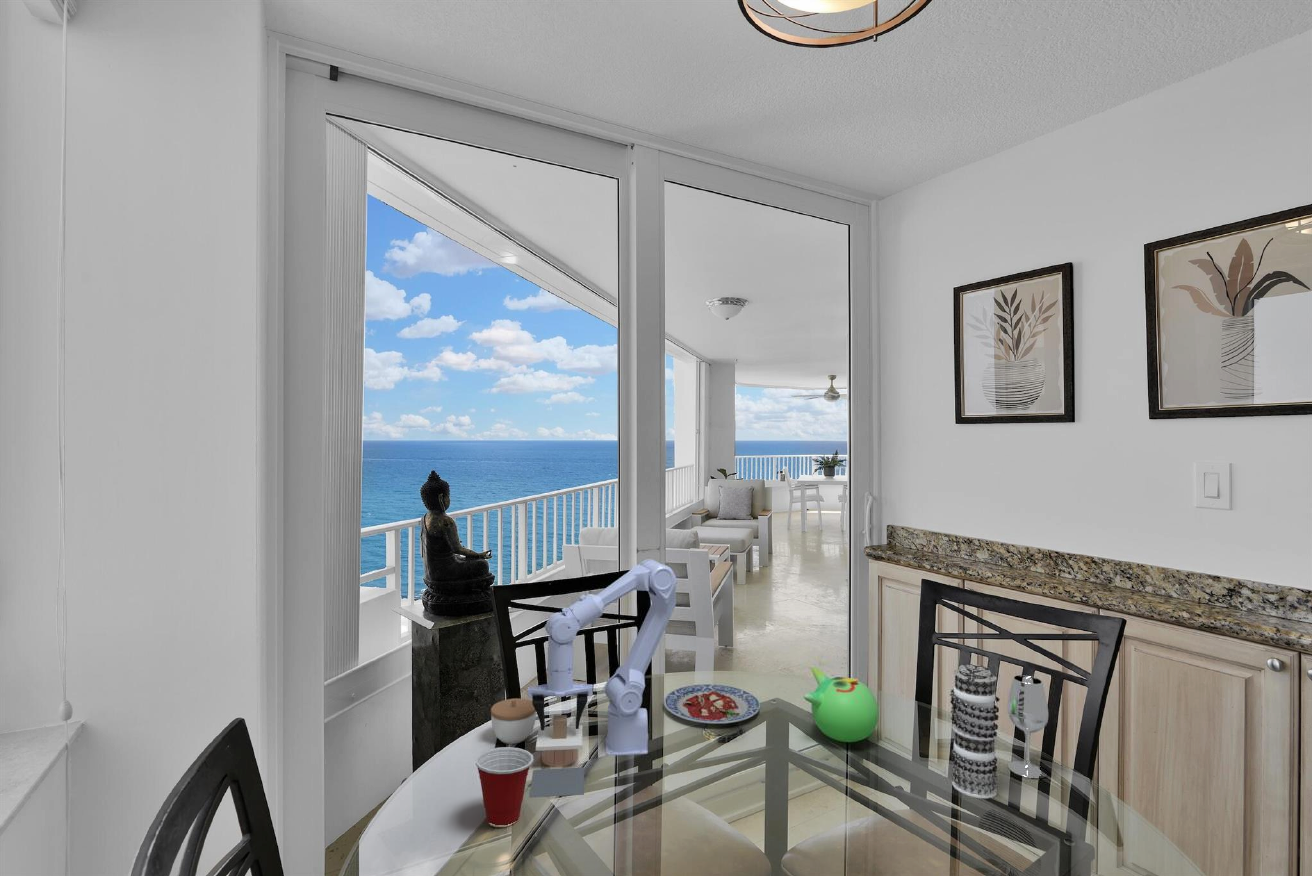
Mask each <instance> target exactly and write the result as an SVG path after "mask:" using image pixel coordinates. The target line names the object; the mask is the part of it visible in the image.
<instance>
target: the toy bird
mask: <svg viewBox="0 0 1312 876" xmlns="http://www.w3.org/2000/svg"><path fill="white" fill-rule="evenodd" d="M811 672H812V674H813V677H814V679H815V680H816V682H817V687H816V688H815V690H814V692H807V693H805V694H804V695H803V698H804V700H806V702H808V703H810V704H811V705H810V706H811V712H812V713H811V714H812V717H813V721H814V722H815V724H816V726H817V727H818V728H819V730H820V732H822V733H823V734H824V735H826V736H827V737H828V738H830V739H833V740H835V741H839V742H841V743H857V742H859V741H861V740H864V739H867V737H869V736H870V735H872V734H873V732H874V731H875V729H876V727H877V726H878V722H879V715H880V714H879V712H880V711H879V706H878V702H877V699H876V697H875V695H874V694H873V692H872V691H871V689H870V688H869V687H868V686H867V685H866V684H865V683H863V682H861V681H859V679H858V678H851V677H847V676H845V677H844V676H836V677H828V676H827V675H826V674H825V673H824V672H823V671H821V670H819V669H818V668H816V667H813V668H811Z"/></svg>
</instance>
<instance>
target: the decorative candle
mask: <svg viewBox="0 0 1312 876" xmlns="http://www.w3.org/2000/svg"><path fill="white" fill-rule="evenodd" d="M953 674H954V685H953V688H952V689H950V694H949V696H950V704H951V710H950V713H951V718H950V719H951V721H952V730H953V732H954V740H953V748H952V751H951V754H952V758H951V761H952V763H953V764H952V765H951V771H952V774H951V778H952V782H951V784H952V785H951V786H953V787H954V789H955V790H957V791H958V792H959V793H961V794H963V795H966V796H968V797H971V798H975V799H991V798H994V797H995V796H997V794H998V793H997V791H998V789H997V786H998V783H997V781H998V780H997V778H998V775H997V770H998V766H997V763H998V758H997V757H996V747H995V739H996V738H998V737H997V736H998V732H997V730H998V729H999V725H998V724H997V723H996V722H995V721H998V720H999V717H1000V716H999V715H998V714H997V713H999V711H1000V710H999V708H1000V707H998V706H997V705H995V704H994V703H998V702H1000V700H1001V699H1000V698H999V697H997V696H996V690H995V689H996V688H995V682H996V681H997V676H996V675H995V674H993V673H992V671H991V670H990V669H989V668H988V667H986V666H983V665H980V664H975V663H965V664H964V663H963V664H961V665H959V667H957V669H955V670H953Z"/></svg>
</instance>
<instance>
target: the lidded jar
mask: <svg viewBox="0 0 1312 876" xmlns="http://www.w3.org/2000/svg"><path fill="white" fill-rule="evenodd" d="M490 715H491V716H490V717H491V721H490V722H491V727H492V731H493V733H494V734H495V737H496V738H497V739H498V740H499V741H500V742H502V743H503V744H506V745H507V744H509V745H510V744H511V745H513V744H514V745H515V744H519V743H522V742H524V741H526V740H527V738H528V737H530V735H531V734H532V732H533V730H534V727H535V724H536V718H537V712H536V710H535V708H534V707H533V704H532V700H531V699H529V698H509V699H503V700H500V701H498V702H496V703H495V704H493V705H492V707H490ZM525 739H526V740H525Z"/></svg>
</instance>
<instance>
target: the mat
mask: <svg viewBox="0 0 1312 876" xmlns="http://www.w3.org/2000/svg"><path fill="white" fill-rule="evenodd" d="M531 777H532V778H531V782H530V788H529V795H528V798H529V797H530V798H545V797H549V798H550V797H565V796H566V797H567V796H582V795H585V766H584V767H567V768H565V767H564V768H563V767H562V768H545V769H543V768H542V769H540V768H539V769H533V771H532V775H531Z"/></svg>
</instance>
